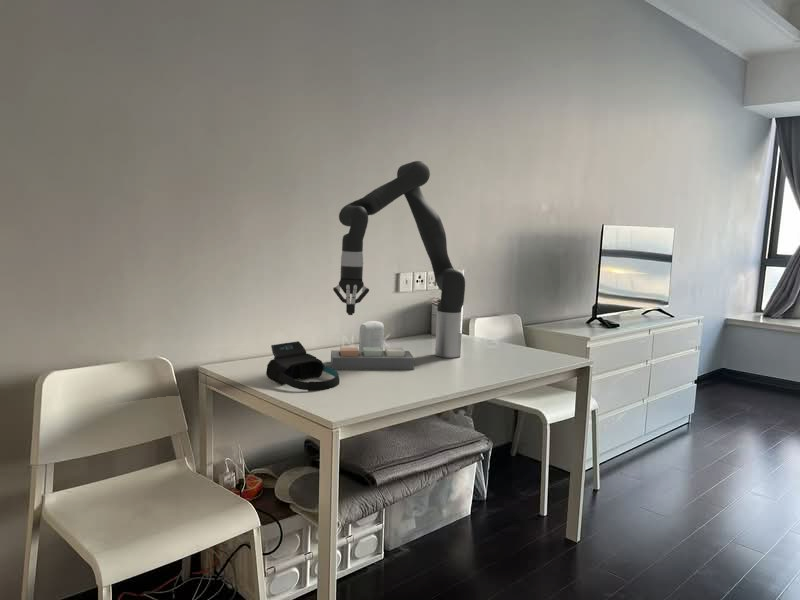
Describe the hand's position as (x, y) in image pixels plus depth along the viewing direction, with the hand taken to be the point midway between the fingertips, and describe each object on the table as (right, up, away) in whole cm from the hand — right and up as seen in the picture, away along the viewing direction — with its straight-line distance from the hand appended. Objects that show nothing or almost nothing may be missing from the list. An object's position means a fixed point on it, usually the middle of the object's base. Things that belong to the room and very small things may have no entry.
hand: (350, 314), depth 217 cm
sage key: (+7, -15, +3) cm, 17 cm away
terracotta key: (-1, -15, +2) cm, 15 cm away
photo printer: (+6, -15, +24) cm, 29 cm away
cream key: (+15, -15, +4) cm, 22 cm away
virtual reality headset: (-12, -21, -23) cm, 33 cm away
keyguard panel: (+7, -18, +3) cm, 20 cm away
